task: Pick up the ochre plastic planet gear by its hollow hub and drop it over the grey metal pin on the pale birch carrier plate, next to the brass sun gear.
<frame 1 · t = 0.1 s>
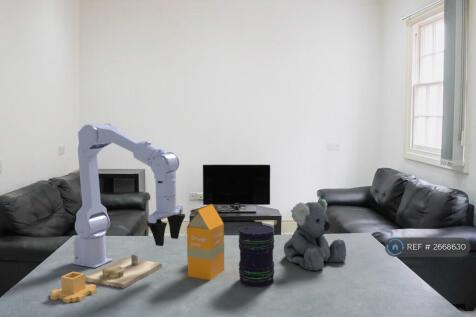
hand: (167, 241, 130), 10 cm above the table, tool pointing down, fingers open, 7 cm apart
planet gear: (73, 293, 119), on the table
storage jar: (256, 281, 126), on the table
koala plush: (310, 260, 144), on the table
carrier plate: (124, 273, 133), on the table
orange juice: (206, 273, 133), on the table
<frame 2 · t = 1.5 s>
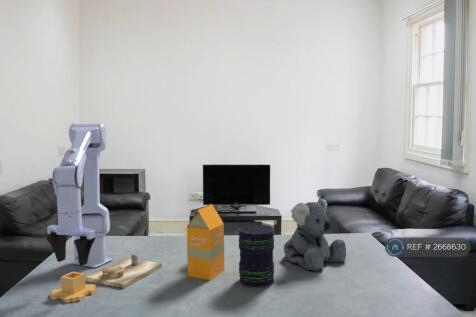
hand: (72, 262, 118), 8 cm above the table, tool pointing down, fingers open, 7 cm apart
nothing on the table moved.
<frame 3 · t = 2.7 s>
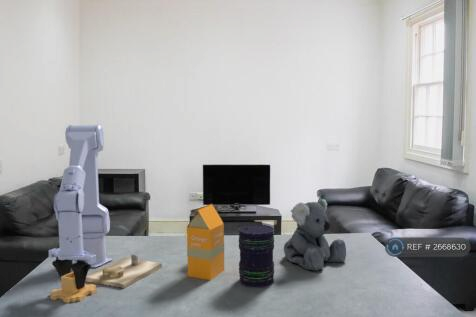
hand: (73, 286, 119), 2 cm above the table, tool pointing down, fingers closed on planet gear, 4 cm apart
planet gear: (73, 293, 119), on the table, touching gripper
everything else where it was.
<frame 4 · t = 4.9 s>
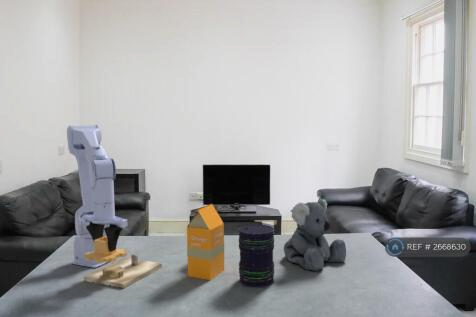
hand: (105, 249, 128), 9 cm above the table, tool pointing down, fingers closed on planet gear, 4 cm apart
planet gear: (105, 256, 128), point 7 cm above the table, touching gripper
everything else where it was.
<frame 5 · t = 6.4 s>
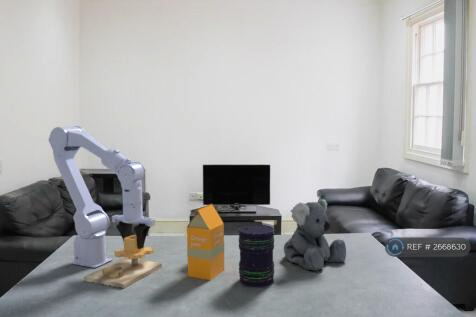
hand: (134, 247, 137), 7 cm above the table, tool pointing down, fingers closed on planet gear, 4 cm apart
planet gear: (134, 253, 137), point 5 cm above the table, touching gripper
everything else where it was.
when the fingers open (4 cm above the table, at t = 7.4 s): planet gear stays where it is, resting on carrier plate.
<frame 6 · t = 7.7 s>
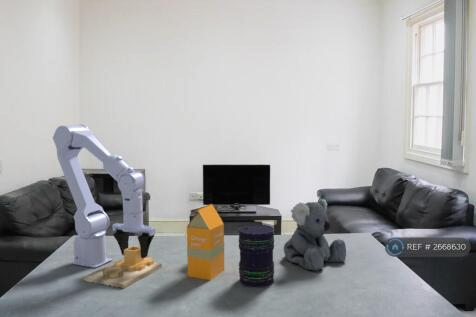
hand: (134, 255, 137), 4 cm above the table, tool pointing down, fingers open, 7 cm apart
planet gear: (134, 264, 137), point 1 cm above the table, touching carrier plate
everything else where it was.
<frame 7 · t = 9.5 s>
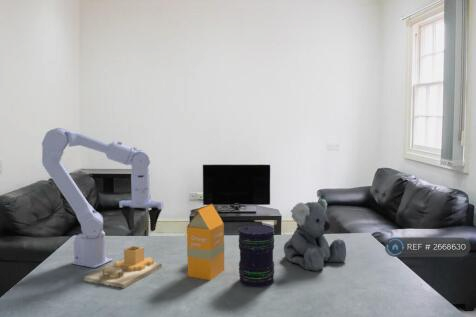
hand: (142, 229, 146), 9 cm above the table, tool pointing down, fingers open, 7 cm apart
nothing on the table moved.
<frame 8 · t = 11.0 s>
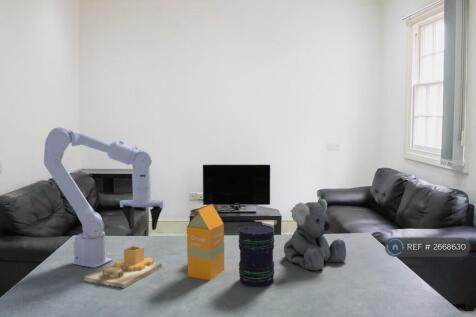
hand: (143, 228, 147), 9 cm above the table, tool pointing down, fingers open, 7 cm apart
nothing on the table moved.
at the end: planet gear 0.2 cm from the target spot on the carrier plate, point 1.2 cm above the carrier plate's base; planet gear tilted 0°; the gripper is holding nothing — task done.
